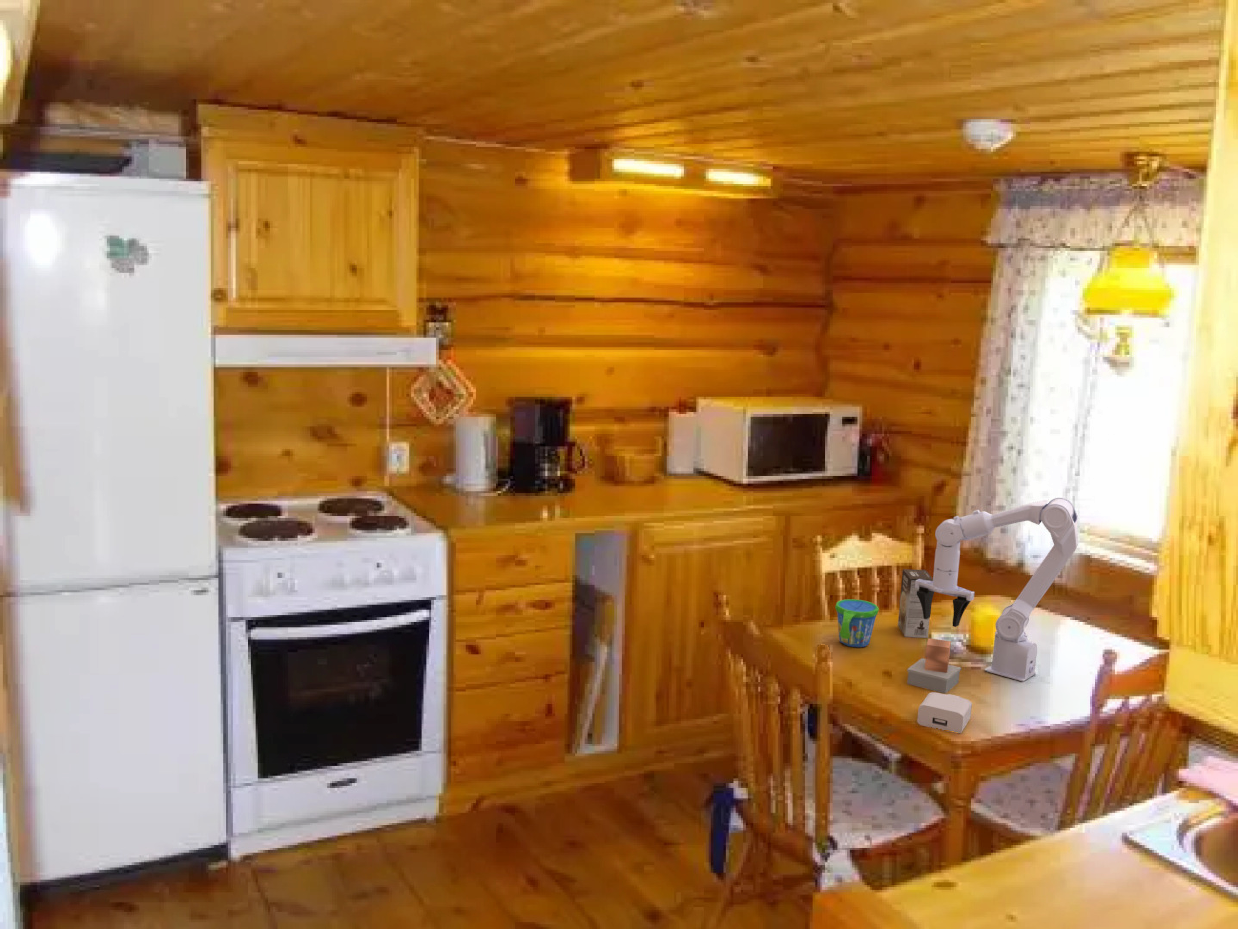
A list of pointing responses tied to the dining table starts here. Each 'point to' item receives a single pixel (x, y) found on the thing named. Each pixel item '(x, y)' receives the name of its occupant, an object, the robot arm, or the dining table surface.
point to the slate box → (933, 677)
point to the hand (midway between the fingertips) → (941, 622)
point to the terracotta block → (937, 655)
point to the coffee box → (912, 605)
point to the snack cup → (855, 621)
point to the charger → (944, 712)
